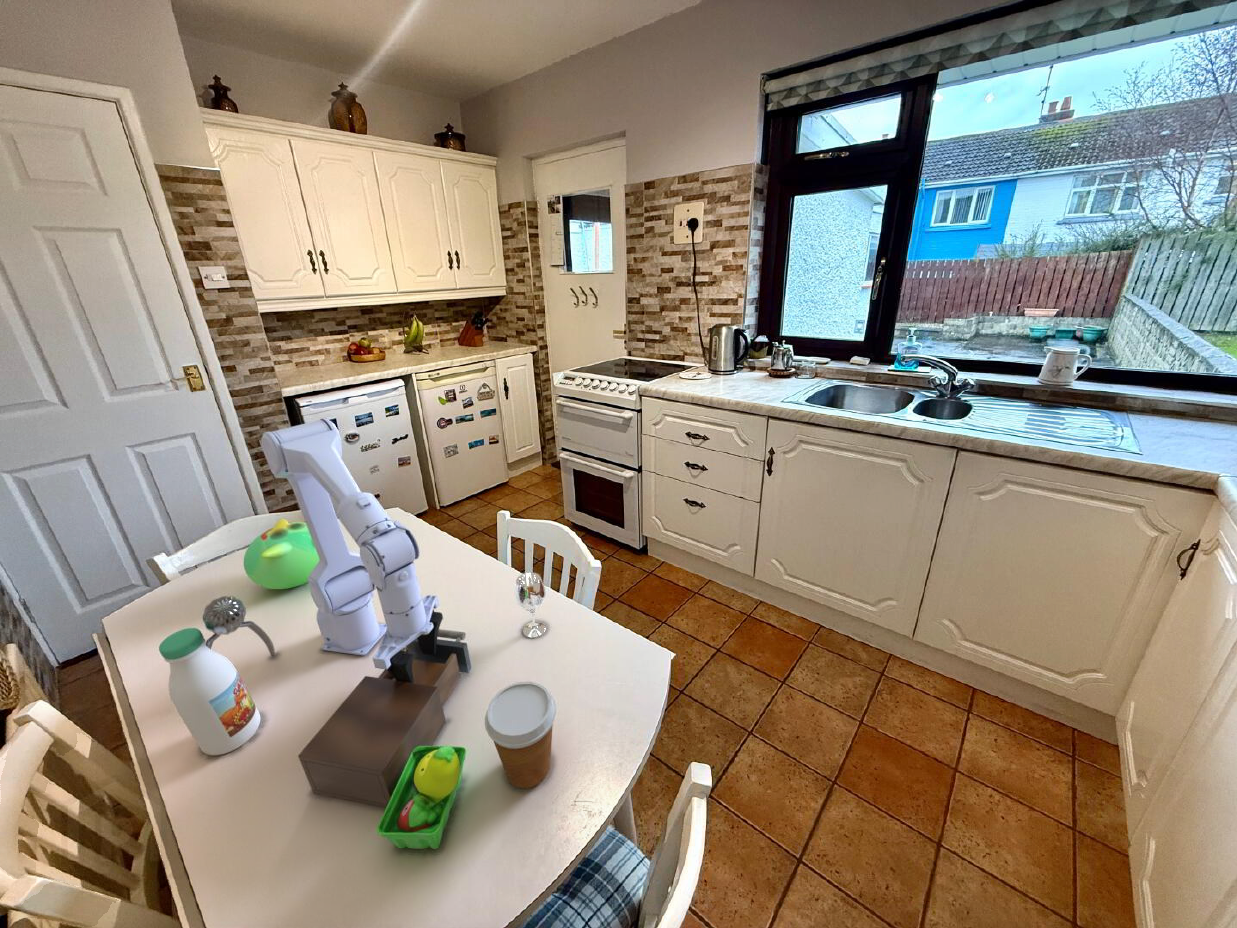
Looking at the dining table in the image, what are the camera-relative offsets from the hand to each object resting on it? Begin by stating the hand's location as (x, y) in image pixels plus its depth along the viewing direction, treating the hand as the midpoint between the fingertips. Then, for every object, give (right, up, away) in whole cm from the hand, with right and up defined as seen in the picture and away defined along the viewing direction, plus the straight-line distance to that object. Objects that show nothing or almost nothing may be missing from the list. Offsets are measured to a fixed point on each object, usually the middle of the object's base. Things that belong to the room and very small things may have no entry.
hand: (418, 668), depth 80 cm
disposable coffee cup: (+20, -10, -10) cm, 25 cm away
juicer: (-38, 0, +9) cm, 39 cm away
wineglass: (+16, +1, +16) cm, 23 cm away
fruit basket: (+9, -13, -15) cm, 22 cm away
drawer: (+1, -4, +3) cm, 5 cm away
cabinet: (-2, -10, -8) cm, 13 cm away
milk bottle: (-28, -9, -4) cm, 29 cm away
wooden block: (0, -4, +1) cm, 4 cm away
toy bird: (-41, +6, +34) cm, 53 cm away
